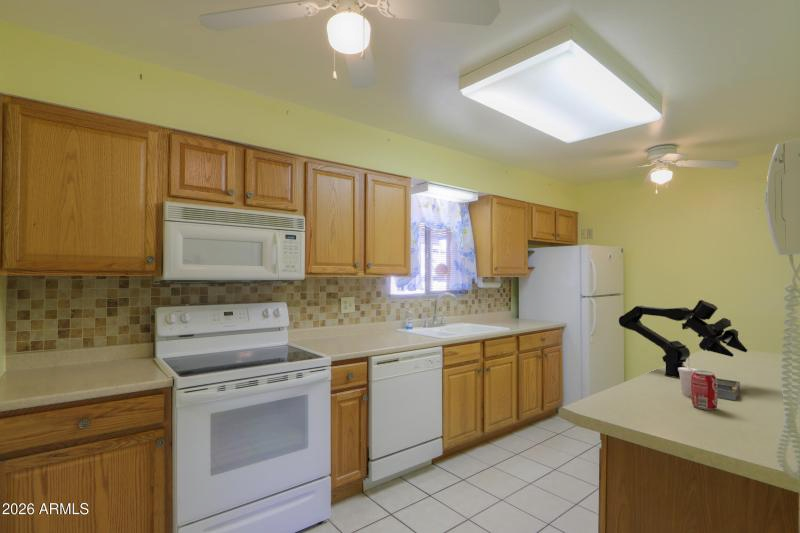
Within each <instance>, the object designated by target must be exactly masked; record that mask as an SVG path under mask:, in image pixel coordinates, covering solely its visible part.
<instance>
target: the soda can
mask: <svg viewBox="0 0 800 533" xmlns="http://www.w3.org/2000/svg"><path fill="white" fill-rule="evenodd" d="M716 378H717V377H716V376H715V373H714V372H712V371H707V370H699V369H697V370H696V371H694V373H693V375H692V377H691V396H690V397H691V405H693V406H694V407H695V408H696V409H700V410H704V411H713V410H715V409H717V408H718V398H717V379H716Z"/></svg>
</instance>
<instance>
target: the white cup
mask: <svg viewBox="0 0 800 533" xmlns="http://www.w3.org/2000/svg"><path fill="white" fill-rule="evenodd" d="M696 370H698V369H697V368H693V367H690V357H688V358H687V367H686V366H685V367H679V368H678V371H679V375H680V378H679V380H680V386H681V387H680V388H681V393H682V395H683V396H687V397H691V377H692V375H693V373H694V371H696Z"/></svg>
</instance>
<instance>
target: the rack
mask: <svg viewBox="0 0 800 533" xmlns="http://www.w3.org/2000/svg"><path fill="white" fill-rule="evenodd" d="M716 379H717V399H724V400H728V401H735V402H736V399H737V397H738V395H739V392H740V390H741V382H740V381H737V380H730V379H723V378H717V377H716Z"/></svg>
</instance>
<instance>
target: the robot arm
mask: <svg viewBox="0 0 800 533" xmlns="http://www.w3.org/2000/svg"><path fill="white" fill-rule="evenodd" d="M718 309H719V308H718V307H717V305H715V304H713V303H710V302H708V301H705V300H703V299H699V300H698V302H697V304H696V305H695V306H694V307H693V309H690V308H688V307H671V308H666V307H665V308H664V307H654V306H644V305H635V306H634V307H633V308H632V309H631V310H629V311H627V312H626V313H624V314H623V315H621V316H620V317H619V318H618V324H619V326H620V327H622V328H624V329H627V330H630V331H633V332H636V334H639V335H641V336H642V337H643V338H645V339H647V340H648V341H650V342H652V343H653V344H654V345H656V346H658V347H660V348H661V349H662V350H663V352H664V355H663V356H662V361H663V363H665V374H664V376H666V377H672V378H679V379H680V375H679V371H678V368H679V367H686V366H685V364H684V363H686V362H687V360H688V358H690V355H691V352H690V349H689V348H688V347H687V345H685V344H683V343H682V342H680V341H678V340H672V341H671V340H669V339H667V338H666V337H664V336H662V335H661V334H659V333H657V332H656V331H654V330H652V329H650V328H649V327H648V326H646V325H645V324H643V323H642V321H641V319H642V317H643V316H644V315H645V316H655V317H663V318H666V319H669V320H672V321H676V322H681V321H685V322H683V323H681V327H682V330H689V329H690V330H692V331H693V332H695V333H696V334H697V337H699V338H702V339H701V341H700V342H699V344H698V346H699V349H701V350H703V351H705V352H706V351H707V352H710V353H711V352H712V353H715V354H719V355H724V356H727V357H730V358H732V357H734V353H733V352H731V350H729V349H728V348H727V347H729V348H733V349H735V350H737V351H741V352H743V353H747V352H749V351H748V348H746V346H744V345H743V343H742V342H741V341H740V339H739V331H737V329H735V328H732V329H731V328H730V329H727V328H729V327H732V323H731V322H732V321H731V320H730V319H728V318H726V317H723V318H721V319H719V320H717V321H716V322H714V323H708V322H706V320H710V319H711V318H712V317H713V316H714V314H715V313H716V312H717V311H718ZM725 329H727V330H725ZM722 343H723V344H725V345H726V346H727V347H725V346H724V345H723V344H722Z"/></svg>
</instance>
